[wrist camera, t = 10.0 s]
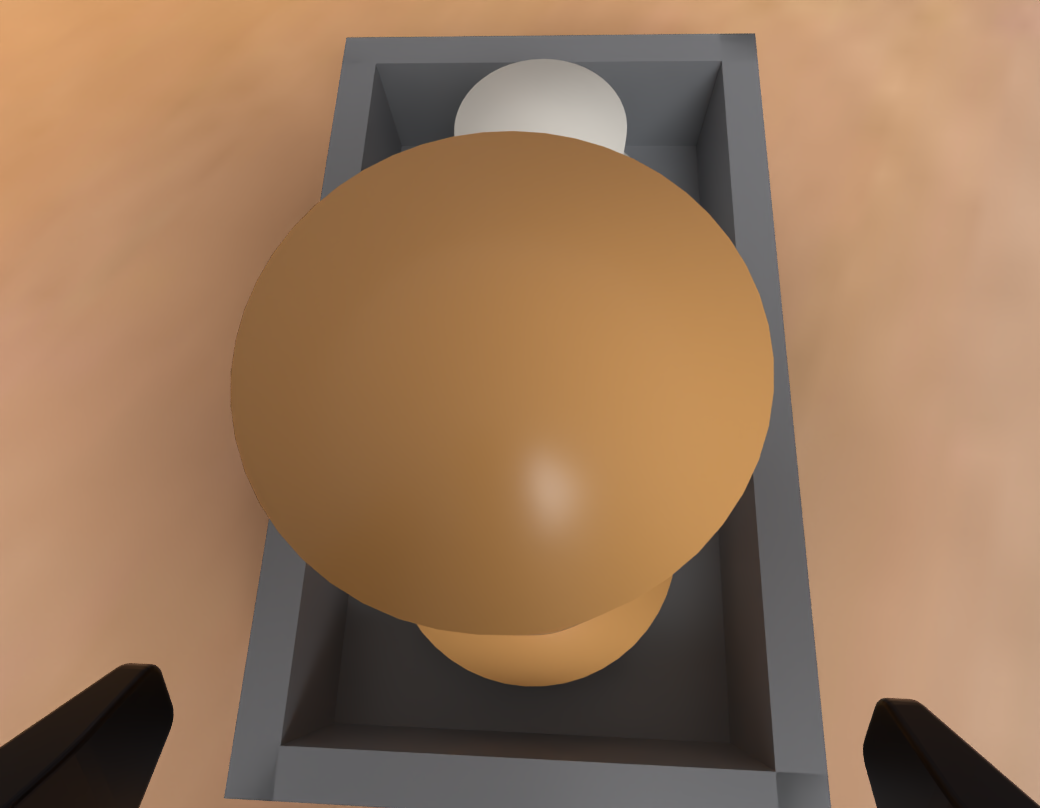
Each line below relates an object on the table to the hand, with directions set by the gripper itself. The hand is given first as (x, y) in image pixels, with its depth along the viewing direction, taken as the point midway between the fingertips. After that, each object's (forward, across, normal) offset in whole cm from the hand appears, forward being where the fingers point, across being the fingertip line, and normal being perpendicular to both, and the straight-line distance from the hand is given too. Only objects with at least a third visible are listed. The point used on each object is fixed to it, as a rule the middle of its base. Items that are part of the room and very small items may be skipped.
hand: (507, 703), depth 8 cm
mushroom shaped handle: (+9, 0, +4) cm, 10 cm away
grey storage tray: (+13, 0, +2) cm, 13 cm away
